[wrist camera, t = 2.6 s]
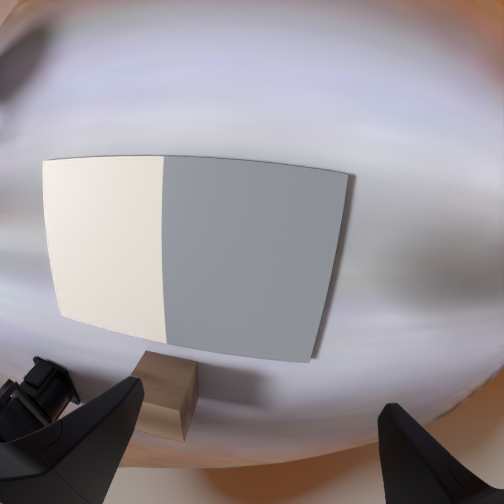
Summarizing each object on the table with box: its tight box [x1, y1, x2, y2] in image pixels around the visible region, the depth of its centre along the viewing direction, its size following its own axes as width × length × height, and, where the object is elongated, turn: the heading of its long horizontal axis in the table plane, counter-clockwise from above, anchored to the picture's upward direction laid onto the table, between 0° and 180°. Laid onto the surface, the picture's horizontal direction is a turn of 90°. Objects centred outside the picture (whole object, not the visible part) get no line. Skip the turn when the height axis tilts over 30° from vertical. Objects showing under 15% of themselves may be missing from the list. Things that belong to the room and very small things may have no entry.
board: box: [43, 156, 348, 363], centre depth 20 cm, size 15×24×1 cm, turn 85°
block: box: [131, 351, 199, 442], centre depth 22 cm, size 5×5×6 cm
